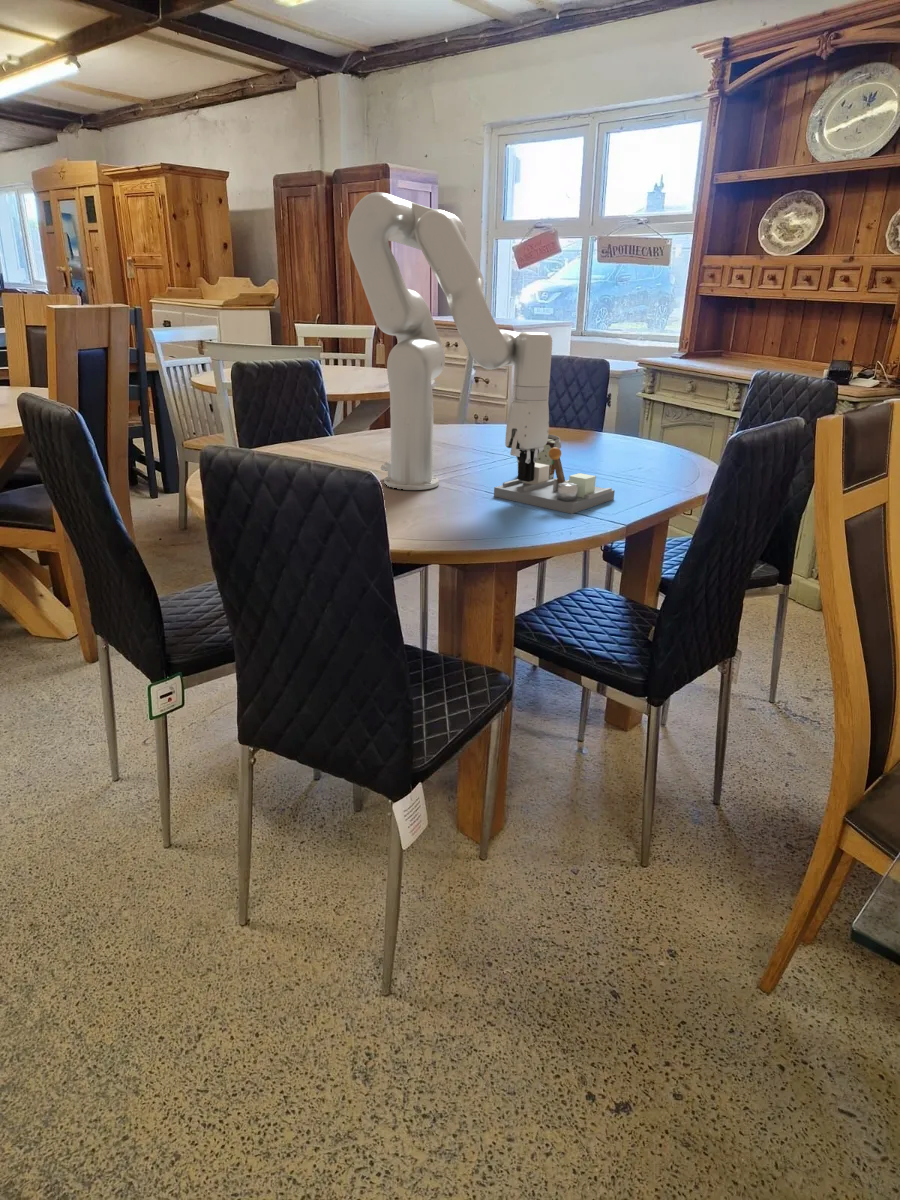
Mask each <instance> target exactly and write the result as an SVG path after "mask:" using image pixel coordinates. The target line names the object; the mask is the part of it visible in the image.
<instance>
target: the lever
mask: <svg viewBox="0 0 900 1200" xmlns="http://www.w3.org/2000/svg"><path fill="white" fill-rule="evenodd" d="M549 457H550V458H551V459H553V463H554V468H555V471H554V473H555V475H556V478H557V480H558V484H559V483H564V481H566V477H565V474H564V469H563V465H562V461H561V457H562V450H561V448H560V449H559V448H557V447H553V448H551V449H550V451H549Z"/></svg>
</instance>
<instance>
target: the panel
mask: <svg viewBox="0 0 900 1200" xmlns="http://www.w3.org/2000/svg"><path fill="white" fill-rule="evenodd" d="M564 483H569V479H568V480H566V479H565V481H564ZM615 492H616V491H615V490H614V489H613V488H612V487H606V488H604V487H598V486H595V491H594V492H593V493H590V494H587V495H585V498H582V497H577V500H576V501H572V502H567V501H560V500H558V499H557V495H558V480H557V477H555V478H554V477H553V478H549V480H548V481H545V482H541V483H537V484H534V485H531V484H526V483H523V481H522V480H518V478H517V479H514V480H513V479H512V480H508V481H505V482H502V485H498V486H495V487H494V489H493V497H496V498H500V499H505V500H509V501H513V502H518V503H523V504H526V505H531V506H535V507H540V508H544V509H548V510H553V511H558V512H561V513H568V514H570V515H572V514H576V513H578V512H582V511H584V510H586V509H590V508H593V507H595V506H598V505H602V504H605V503H606V502H611V501H613V500H614V499H615Z"/></svg>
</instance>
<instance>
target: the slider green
mask: <svg viewBox="0 0 900 1200" xmlns="http://www.w3.org/2000/svg"><path fill="white" fill-rule="evenodd" d="M596 478H597V475H592V474H586V473H581V472H578V473H574V474H571V475H568V480H569V483H574V484H577V485H578V491H577V497H582V498H585V495H587V494H590V493H593V492H594V491H595V487H596Z"/></svg>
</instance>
